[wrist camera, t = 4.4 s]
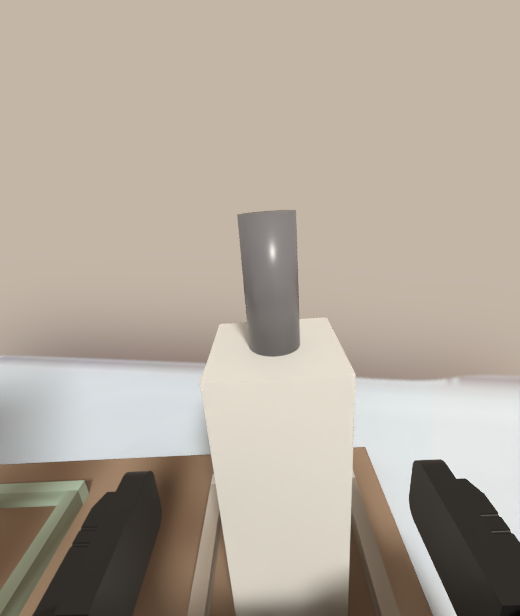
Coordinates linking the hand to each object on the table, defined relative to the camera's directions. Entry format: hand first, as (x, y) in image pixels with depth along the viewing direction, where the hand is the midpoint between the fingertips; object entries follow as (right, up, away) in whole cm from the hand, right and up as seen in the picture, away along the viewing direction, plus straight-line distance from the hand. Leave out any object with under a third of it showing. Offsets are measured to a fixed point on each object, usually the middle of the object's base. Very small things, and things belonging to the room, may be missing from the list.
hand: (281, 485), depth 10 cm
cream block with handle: (0, -5, +4) cm, 6 cm away
